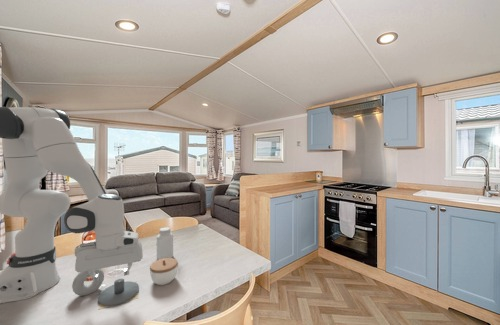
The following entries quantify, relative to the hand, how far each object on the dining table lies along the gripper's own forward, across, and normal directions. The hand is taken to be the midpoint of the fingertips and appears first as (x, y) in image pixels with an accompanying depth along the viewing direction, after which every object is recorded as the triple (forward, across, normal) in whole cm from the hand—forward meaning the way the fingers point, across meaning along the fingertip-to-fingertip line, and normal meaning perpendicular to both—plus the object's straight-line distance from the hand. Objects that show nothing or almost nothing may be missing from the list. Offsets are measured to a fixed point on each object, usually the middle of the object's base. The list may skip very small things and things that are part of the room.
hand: (111, 277), depth 77 cm
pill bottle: (+10, +19, +29) cm, 36 cm away
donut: (+9, -9, +9) cm, 15 cm away
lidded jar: (+9, +18, +6) cm, 21 cm away
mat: (+9, +2, +3) cm, 10 cm away
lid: (+8, +2, +3) cm, 9 cm away
